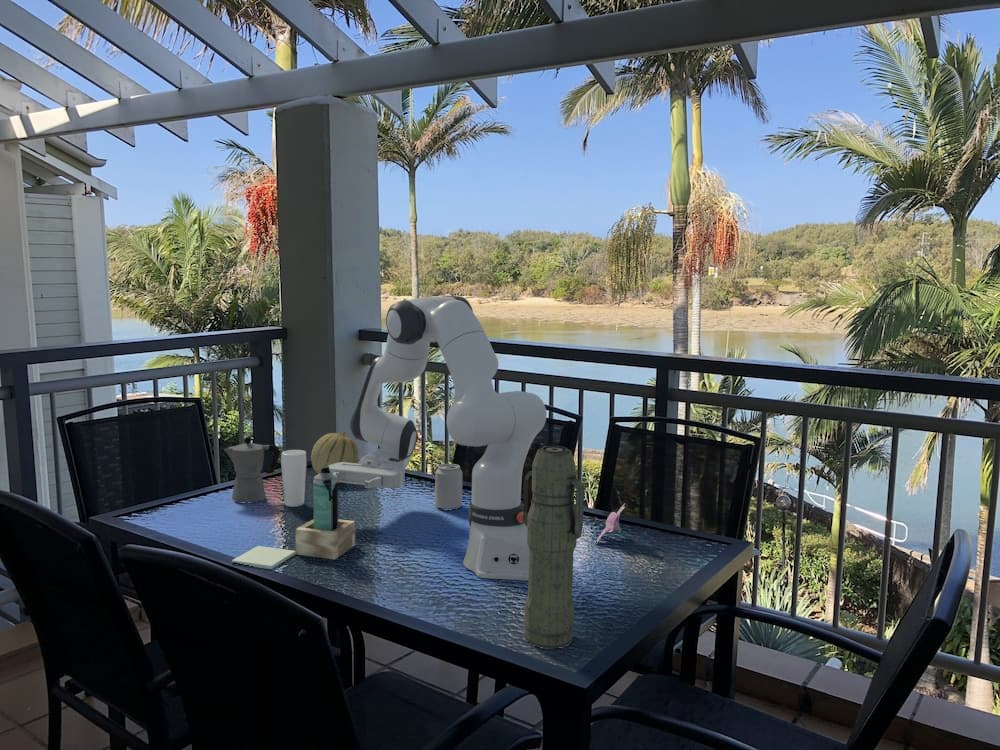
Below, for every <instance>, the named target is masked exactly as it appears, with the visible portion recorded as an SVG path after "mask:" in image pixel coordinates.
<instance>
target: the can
mask: <svg viewBox="0 0 1000 750" xmlns="http://www.w3.org/2000/svg"><path fill="white" fill-rule="evenodd" d="M434 474H435V479H434V480H435V481H434V482H435V483H434V484H435V489H434V491H435V492H434V494H435V495H434V505H435V506H436V507H437V508H438V509H439V508H441V509H456V508H458V509H460V507H462V505H463V471H462V469H461V466H460V465H459V464H455V463H442V464H439V465H438V466H437V468H436V470H435V473H434ZM441 509H440V510H441ZM456 510H457V509H456Z"/></svg>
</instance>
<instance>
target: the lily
mask: <svg viewBox="0 0 1000 750" xmlns="http://www.w3.org/2000/svg"><path fill="white" fill-rule="evenodd" d="M625 508H626V506H625V504H623V505H622V506H621V507H620V508H619V509H618V511H617V512H616V511H615V512H614V511H612V512H610V514H609V515H608V516H607V519H605V521H604V522H605V528H604V529H603V530H602V531H601V533H600V534H601V535H600V534H599V536H598V537H597V539H596V541H597V543H598V542H599V540H600V539H601V537H602V536H604V534H606V533H611V532H616V531H620V532H621V533H622V535H623V536H624V538H625V539H626V540H627V539H628V537H627V536H626V534H625V533H624V531H623V530H622V529H621V527H620V514H621V512H622V511H623V510H624V509H625Z"/></svg>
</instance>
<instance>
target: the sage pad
mask: <svg viewBox="0 0 1000 750" xmlns="http://www.w3.org/2000/svg"><path fill="white" fill-rule="evenodd" d="M295 555H297V554H296V550H291V549H284V548H276V547H270V546H264V545H257V546H255V547H253V548H251V549H250V550H248V551H246V552H244V553H243V554H241V555H239V556H237V557H235V558H233V559H232V560H231V563H232V562H237V563H240V564H244V565H249V566H248V567H251V566H253V568H259V569H267V570H273V569H274V568H276V567H278V566H279V565H281V564H282V563H284V562H286V561H287V560H289V559H291V558H292V557H294V556H295ZM244 565H243V566H244Z"/></svg>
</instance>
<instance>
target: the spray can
mask: <svg viewBox="0 0 1000 750" xmlns="http://www.w3.org/2000/svg"><path fill="white" fill-rule="evenodd" d="M312 481H313V519H314V529H317V530H325V531H333V530H335V529H336V528H338V519H339V517H338V515H339V514H338V513H339V512H338V509H339V507H338V506H339V503H338V501H339V500H338V495H339V493H338V488H339V487H338V486H339V485H338V484H339V483H338V480H337V476H336V475H334V474H332V472H331V471H330V470H329V466H324V467H322V469H321V471H320V472H319V474H318V473H317V474H316V475H314V477H313V480H312Z"/></svg>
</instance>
